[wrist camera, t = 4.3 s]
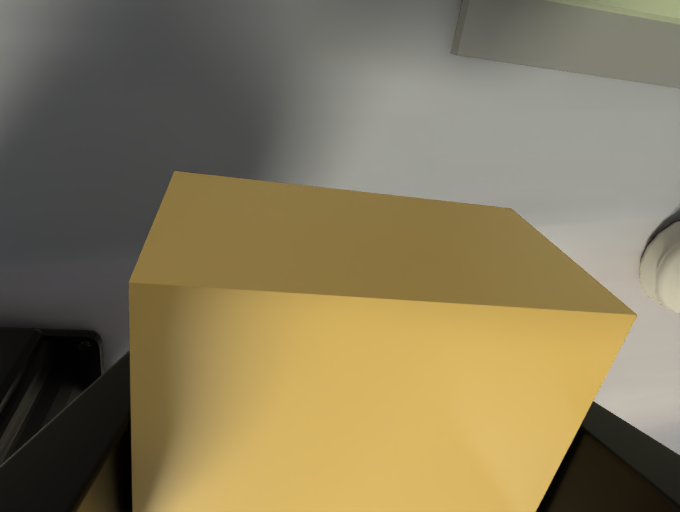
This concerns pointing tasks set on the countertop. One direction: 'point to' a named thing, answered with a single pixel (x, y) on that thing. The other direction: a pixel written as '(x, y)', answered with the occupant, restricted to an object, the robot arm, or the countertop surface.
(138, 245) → the countertop surface
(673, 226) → the rook chess piece
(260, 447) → the ochre brick
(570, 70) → the baseplate
